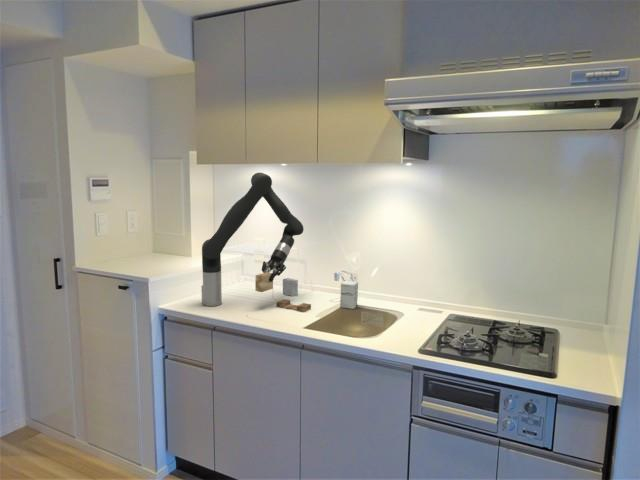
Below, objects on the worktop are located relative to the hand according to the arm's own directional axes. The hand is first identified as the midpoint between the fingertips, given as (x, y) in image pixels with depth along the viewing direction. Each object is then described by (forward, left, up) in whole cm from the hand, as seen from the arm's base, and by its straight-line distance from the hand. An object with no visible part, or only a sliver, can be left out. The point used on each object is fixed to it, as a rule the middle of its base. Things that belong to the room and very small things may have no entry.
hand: (266, 280), depth 232 cm
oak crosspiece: (0, -2, -5) cm, 5 cm away
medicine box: (-4, +26, -14) cm, 30 cm away
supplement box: (+34, +24, -14) cm, 44 cm away
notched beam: (+12, +6, -14) cm, 20 cm away
